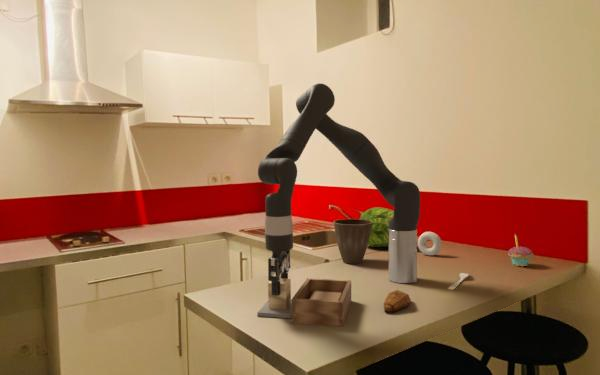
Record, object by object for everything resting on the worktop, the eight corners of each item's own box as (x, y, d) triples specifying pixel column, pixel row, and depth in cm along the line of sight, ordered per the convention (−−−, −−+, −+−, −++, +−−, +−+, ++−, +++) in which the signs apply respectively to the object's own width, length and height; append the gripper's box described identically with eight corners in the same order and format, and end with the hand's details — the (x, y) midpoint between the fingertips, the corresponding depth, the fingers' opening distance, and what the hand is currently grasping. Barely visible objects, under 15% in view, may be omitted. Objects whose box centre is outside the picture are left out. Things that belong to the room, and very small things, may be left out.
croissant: (398, 317, 120) (398, 298, 119) (375, 312, 124) (375, 294, 123) (418, 303, 131) (418, 286, 130) (396, 299, 135) (396, 282, 134)
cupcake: (508, 267, 169) (508, 235, 168) (507, 262, 176) (507, 231, 176) (534, 269, 165) (535, 236, 164) (532, 263, 173) (532, 232, 172)
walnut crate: (351, 300, 133) (351, 280, 132) (342, 326, 113) (342, 302, 113) (307, 298, 136) (307, 278, 135) (291, 322, 116) (291, 299, 116)
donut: (442, 256, 188) (443, 232, 187) (440, 257, 185) (440, 233, 184) (419, 253, 194) (419, 230, 193) (416, 255, 191) (416, 231, 190)
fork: (445, 297, 143) (445, 289, 143) (464, 275, 160) (464, 267, 159) (455, 299, 141) (454, 290, 141) (473, 276, 158) (473, 268, 158)
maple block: (290, 303, 128) (290, 278, 127) (286, 309, 123) (285, 283, 122) (273, 302, 129) (273, 278, 128) (268, 308, 124) (268, 283, 124)
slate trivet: (300, 303, 131) (300, 300, 131) (290, 318, 119) (290, 314, 119) (270, 301, 133) (270, 298, 133) (257, 316, 121) (257, 312, 121)
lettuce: (398, 254, 192) (398, 211, 190) (350, 248, 206) (350, 208, 205) (417, 247, 206) (417, 207, 205) (371, 241, 221) (371, 204, 220)
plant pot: (369, 257, 188) (369, 218, 186) (374, 266, 173) (374, 224, 172) (333, 257, 188) (332, 219, 187) (334, 266, 173) (334, 224, 172)
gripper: (286, 236, 117) (287, 299, 118) (298, 227, 130) (299, 283, 132) (257, 236, 118) (259, 297, 119) (272, 227, 132) (274, 282, 133)
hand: (280, 290), depth 125 cm, fingers open, 8 cm apart
